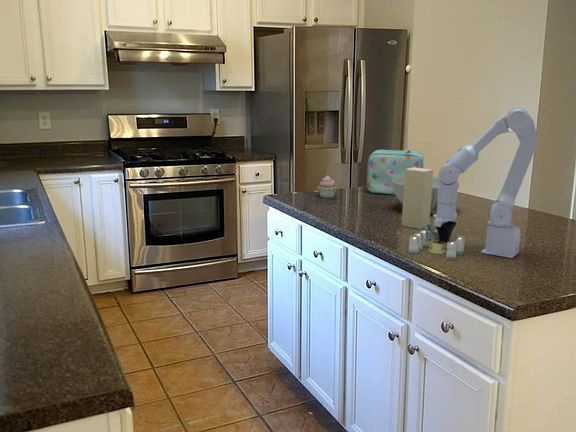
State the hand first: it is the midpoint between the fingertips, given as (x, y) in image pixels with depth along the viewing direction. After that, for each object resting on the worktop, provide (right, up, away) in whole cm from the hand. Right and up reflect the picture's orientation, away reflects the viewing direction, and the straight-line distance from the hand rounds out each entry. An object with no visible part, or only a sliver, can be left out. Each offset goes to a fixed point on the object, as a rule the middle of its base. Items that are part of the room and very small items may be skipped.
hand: (444, 244), depth 182 cm
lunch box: (+1, +19, +88) cm, 90 cm away
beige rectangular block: (-3, +5, +28) cm, 28 cm away
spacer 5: (+3, -2, -6) cm, 7 cm away
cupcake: (-32, +17, +80) cm, 88 cm away
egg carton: (+1, +2, +14) cm, 14 cm away
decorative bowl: (+6, +11, +53) cm, 54 cm away
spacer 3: (-6, -1, +2) cm, 7 cm away
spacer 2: (-9, -1, -2) cm, 9 cm away
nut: (-3, -2, -4) cm, 6 cm away
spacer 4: (-1, -4, -11) cm, 12 cm away
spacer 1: (-11, -2, -6) cm, 13 cm away
